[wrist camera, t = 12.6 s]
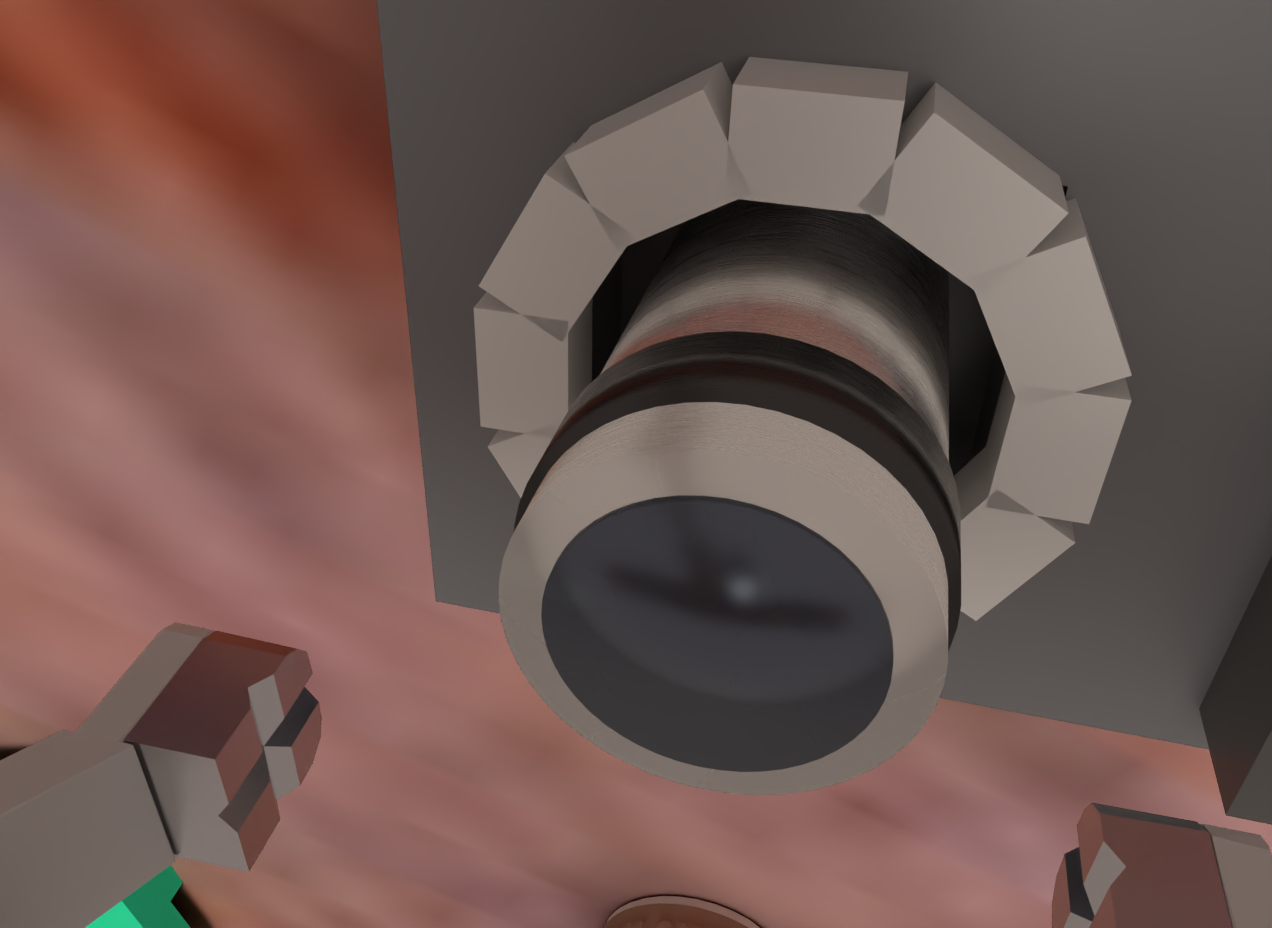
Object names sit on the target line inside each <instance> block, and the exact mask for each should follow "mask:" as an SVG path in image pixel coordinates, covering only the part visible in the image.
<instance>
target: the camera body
mask: <svg viewBox="0 0 1272 928" xmlns="http://www.w3.org/2000/svg"><path fill="white" fill-rule="evenodd" d="M377 9H378V19H379V29H380V39H381V49H382V59H383V69H384V80H385V90H386V100H387V110H388V120H389V130H390V141H391V151H392V161H393V171H394V181H395V191H396V202H397V212H398V222H399V232H400V242H401V252H402V262H403V273H404V283H405V293H406V303H407V313H408V323H409V334H410V344H411V354H412V364H413V374H414V384H415V395H416V405H417V415H418V425H419V435H420V445H421V455H422V466H423V476H424V486H425V496H426V506H427V516H428V527H429V537H430V547H431V557H432V567H433V577H434V588H435V598H436V601H437V602H443V603H448V604H453V605H458V606H463V607H469V608H474V609H479V610H484V611H490V612H495V613H500V607H499V576H500V571H501V566H502V562H503V557H504V554H505V552H506V549H507V547H508V544H509V542H510V539H511V537H512V535H513V533H514V524H515V520H516V515H517V510H518V505H519V502H520V500H521V497H522V495H523V492H524V490H525V487H526V485H527V482H528V481H529V479H530V477H531V475H532V473H533V472H534V470H535V468H536V466H537V465H538V463H539V461H540V459H541V458H542V456H543V454H544V452H545V450H546V449H547V447H548V445H549V443H550V442H551V440H552V438H553V436H554V435H555V433H556V431H557V429H558V427H559V426H560V424H561V422H562V420H563V419H564V417H565V416H566V414H567V412H568V411H569V409H570V407H571V406H572V404H573V402H574V401H575V400H576V399H577V398H578V397H579V395H580V394H581V393H582V392H583V391H584V390H585V388H586V387H587V386H588V385H589V384H590V383H591V382H592V381H594V380H595V379H596V378H597V377H598V376H599V375H600V374H601V372H602V370H603V368H604V366H605V365H606V363H607V361H608V359H609V357H610V356H611V354H612V352H613V350H614V348H615V346H616V345H617V343H618V341H619V339H620V337H621V335H622V334H623V332H624V330H625V328H626V326H627V324H628V323H629V321H630V319H631V317H632V315H633V313H634V312H635V310H636V308H637V306H638V304H639V302H640V301H641V299H642V297H643V295H644V293H645V292H646V290H647V288H648V286H649V284H650V282H651V281H652V279H653V277H654V275H655V273H656V271H657V270H658V268H659V266H660V264H661V262H662V260H663V259H664V257H665V255H666V253H667V251H668V249H669V248H670V246H671V244H672V242H673V240H674V238H675V237H676V235H677V233H678V231H679V229H680V228H681V226H682V224H683V222H685V221H687V220H690V219H692V218H694V217H697V216H699V215H702V214H704V213H706V212H709V211H711V210H713V209H716V208H718V207H720V206H723V205H725V204H728V203H730V202H732V201H735V200H737V199H743V200H751V201H760V202H768V203H777V204H785V205H794V206H803V207H811V208H820V209H828V210H837V211H845V212H854V213H862V214H870V215H871V216H873V217H874V218H876V219H877V220H878V221H880V222H881V223H882V224H884V225H885V226H887V227H888V228H889V229H891V230H892V231H893V232H895V233H896V234H898V235H899V236H900V237H902V238H903V239H904V240H906V241H907V242H909V243H910V244H911V245H913V246H914V247H915V248H917V249H918V250H920V251H921V252H922V253H924V254H925V255H926V256H928V257H929V258H931V259H932V260H933V261H935V262H936V263H938V264H939V265H940V266H942V267H943V268H944V269H946V270H947V271H949V464H950V467H951V470H952V473H953V476H954V479H955V482H956V485H957V491H958V497H959V503H960V518H961V610H960V615H959V621H958V627H957V630H956V633H955V636H954V638H953V641H952V644H951V647H950V649H949V651H948V665H947V671H946V676H945V682H944V686H943V689H942V691H941V694H940V697H939V698H944V699H949V700H954V701H959V702H964V703H970V704H975V705H980V706H985V707H991V708H996V709H1001V710H1006V711H1011V712H1017V713H1022V714H1027V715H1032V716H1037V717H1043V718H1048V719H1053V720H1058V721H1064V722H1069V723H1074V724H1079V725H1084V726H1090V727H1095V728H1100V729H1105V730H1111V731H1116V732H1121V733H1126V734H1131V735H1137V736H1142V737H1147V738H1152V739H1158V740H1163V741H1168V742H1173V743H1178V744H1184V745H1189V746H1194V747H1199V748H1205V749H1209V751H1210V754H1211V758H1212V762H1213V766H1214V770H1215V774H1216V778H1217V782H1218V786H1219V790H1220V794H1221V798H1222V802H1223V806H1224V810H1225V814H1226V815H1227V816H1232V817H1237V818H1242V819H1247V820H1252V821H1257V822H1262V823H1267V824H1272V0H377Z"/></svg>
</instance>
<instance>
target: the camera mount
mask: <svg viewBox="0 0 1272 928" xmlns="http://www.w3.org/2000/svg"><path fill="white" fill-rule="evenodd" d="M182 883H183V882H182V880H181V879H180V878H179V876H178V875H177V874H176V872H175V871H174V870H173V868H172V867H171V866H169V867H167V868H166V869H164V870H163V871H162V872H160V873H159V874H158V875H156V876H155V877H153V878H152V879H151V880H149V881H148V882H147V883H145V884H144V885H143V886H141V887H140V888H138V889H137V890H136V891H134V892H133V893H132V894H130V895H129V896H127V897H126V898H125V899H123V900H122V901H121V902H119V903H118V904H117V905H115V906H114V907H112V908H111V909H110V910H108V911H107V912H106V913H104V914H103V915H101V916H100V917H99V918H97V919H96V920H95V921H93V922H92V923H91V924H89V925H88V926H86V927H85V928H190V926H189V925H188V924H187V923H186V921H185V920H184V919H183V917H182V916H181V915H180V913H179V912H178V911H177V909H176V908H175V907H174V905H173V904H172V903H171V902H170V901H171V900H172V898H173V897H174V895H175V894H176V892H177V891H178V889H179V888H180V886H181V885H182Z"/></svg>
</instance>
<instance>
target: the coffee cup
mask: <svg viewBox="0 0 1272 928" xmlns="http://www.w3.org/2000/svg"><path fill="white" fill-rule="evenodd" d="M603 928H760V927H759V926H757V925H756V924H755V923H753V922H752V921H750V920H749V919H747V918H745V917H744V916H742V915H740V914H738V913H736V912H734V911H732V910H730V909H727V908H725V907H722V906H720V905H717V904H714V903H710V902H707V901H703V900H699V899H694V898H687V897H681V896H657V897H648V898H644V899H640V900H637V901H633V902H630V903H628V904H626V905H624V906H622V907H621V908H619V909H617V910H616V911H615V912H614V913H613V914H612V915H611V916H610V917H609V919H608V921H607V923H606V924H605V926H604V927H603Z"/></svg>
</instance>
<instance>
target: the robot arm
mask: <svg viewBox="0 0 1272 928" xmlns="http://www.w3.org/2000/svg"><path fill="white" fill-rule="evenodd" d="M312 674H313V673H312V669H311V665H310V661H309V658H308V654H307V652H306V651H303V650H299V649H296V648H291V647H287V646H282V645H278V644H273V643H269V642H264V641H260V640H256V639H251V638H247V637H242V636H238V635H233V634H229V633H224V632H220V631H214V630H209V629H205V628H200V627H195V626H190V625H186V624H181V623H176V622H175V623H174V624H172V625H170V626H168V627H166V628H164V629H162V630H161V631H160V632H159V633H158V634H157V635H156V636H155V638H154V639H153V640H152V641H151V642H150V644H149V645H148V646H147V647H146V648H145V649H144V651H143V652H142V653H141V654H140V655H139V657H138V658H137V659H136V660H135V661H134V662H133V664H132V665H131V666H130V667H129V668H128V670H127V671H126V672H125V673H124V674H123V676H122V677H121V678H120V679H119V680H118V681H117V683H116V684H115V685H114V686H113V687H112V689H111V690H110V691H109V692H108V693H107V695H106V696H105V697H104V698H103V699H102V700H101V702H100V703H99V704H98V705H97V706H96V708H95V709H94V710H93V711H92V712H91V714H90V715H89V716H88V717H87V718H86V719H85V721H84V722H83V723H82V724H81V725H80V727H79V728H78V729H77V730H76V731H75V732H74V731H69V730H61V731H59V732H57V733H55V734H53V735H51V736H49V737H47V738H45V739H43V740H41V741H39V742H37V743H35V744H32V745H30V746H28V747H26V748H24V749H22V750H20V751H18V752H16V753H14V754H12V755H10V756H8V757H6V758H4V759H2V760H0V928H85V927H86V926H88V925H89V924H91V923H92V922H93V921H95V920H96V919H97V918H99V917H100V916H101V915H103V914H104V913H106V912H107V911H108V910H110V909H111V908H112V907H114V906H115V905H117V904H118V903H119V902H121V901H122V900H123V899H125V898H126V897H127V896H129V895H130V894H132V893H133V892H134V891H136V890H137V889H138V888H140V887H141V886H143V885H144V884H145V883H147V882H148V881H149V880H151V879H152V878H153V877H155V876H156V875H158V874H159V873H160V872H162V871H163V870H164V869H166V868H167V867H169V866H170V865H171V864H173V863H174V862H175V857H179V858H184V859H189V860H194V861H199V862H204V863H209V864H214V865H219V866H224V867H229V868H233V869H238V870H243V871H248V872H249V871H250V869H251V868H252V866H253V864H254V863H255V861H256V859H257V858H258V856H259V854H260V853H261V851H262V849H263V848H264V846H265V844H266V842H267V841H268V839H269V837H270V836H271V834H272V832H273V831H274V829H275V827H276V826H277V824H278V822H279V821H280V816H279V810H278V803H277V799H279V798H280V797H282V796H284V795H285V794H287V793H289V792H290V791H292V790H294V789H295V788H297V787H299V786H300V785H301V783H302V781H303V780H304V778H305V776H306V774H307V772H308V771H309V769H310V767H311V765H312V764H313V760H314V757H315V754H316V751H317V747H318V744H319V741H320V738H321V719H322V717H321V712H320V707H319V702H318V701H317V700H316V699H315V697H314V696H313V695H312V694H311V693H310V692H309V691H308V690H307V689H306V688H305V687H304V686H305V685H306V683H307V682H308V680H309V678H310V677H311V675H312ZM1077 832H1078V840H1079V847H1078V848H1076V849H1074V850H1072V851H1070V852H1068V853H1066V854H1065V855H1064V857H1063V860H1062V863H1061V865H1060V868H1059V870H1058V873H1057V876H1056V882H1055V888H1054V894H1053V900H1052V928H1272V855H1271V852H1270V849H1269V846H1268V844H1267V843H1266V842H1265V841H1264V839H1263V838H1262V837H1261V836H1260V835H1257V834H1252V833H1247V832H1242V831H1237V830H1231V829H1226V828H1221V827H1216V826H1211V825H1206V824H1199V823H1197V822H1195V821H1189V820H1184V819H1178V818H1173V817H1168V816H1162V815H1157V814H1151V813H1146V812H1140V811H1135V810H1129V809H1124V808H1118V807H1113V806H1107V805H1102V804H1096V803H1091V804H1090V805H1089V806H1087V807H1086V808H1085V809H1084V811H1083V813H1082V815H1081V818H1080V820H1079V822H1078V824H1077Z"/></svg>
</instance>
